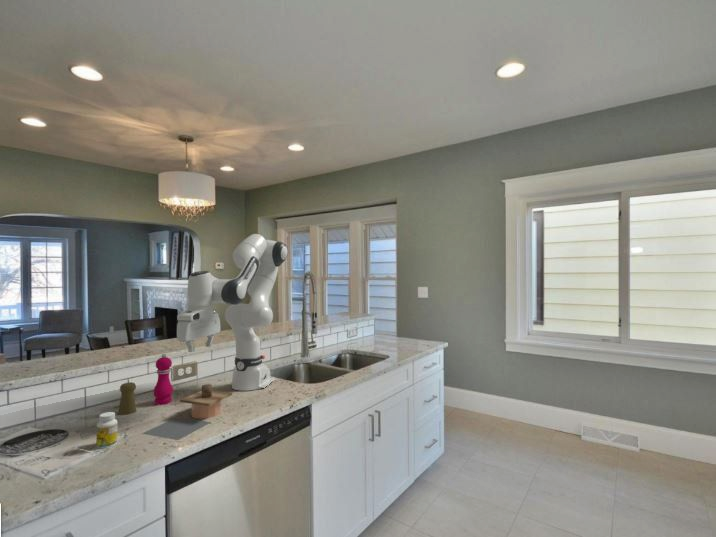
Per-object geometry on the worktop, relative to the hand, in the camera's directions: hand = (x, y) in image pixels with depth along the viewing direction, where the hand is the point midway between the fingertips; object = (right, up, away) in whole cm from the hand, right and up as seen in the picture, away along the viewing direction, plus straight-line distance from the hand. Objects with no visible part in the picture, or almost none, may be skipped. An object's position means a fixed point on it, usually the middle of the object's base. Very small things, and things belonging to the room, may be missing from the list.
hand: (200, 349), depth 143 cm
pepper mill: (-20, -24, +10) cm, 33 cm away
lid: (+3, -18, -3) cm, 19 cm away
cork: (-28, -24, -1) cm, 37 cm away
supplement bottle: (-17, -24, -29) cm, 41 cm away
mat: (-1, -24, -16) cm, 29 cm away
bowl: (+3, -24, -3) cm, 24 cm away
